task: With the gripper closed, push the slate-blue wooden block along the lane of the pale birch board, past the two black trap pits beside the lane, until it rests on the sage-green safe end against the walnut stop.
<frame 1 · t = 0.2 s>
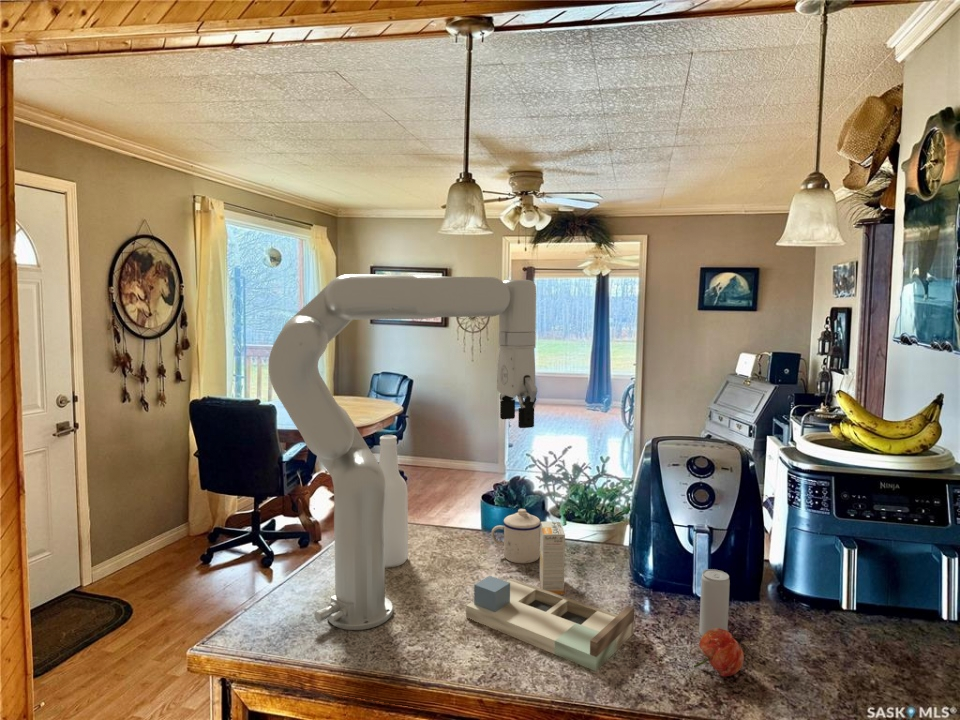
hand: (516, 422, 126), 36 cm above the kitchen counter, tool pointing down, fingers open, 9 cm apart
supplement box: (551, 586, 132), on the kitchen counter
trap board: (547, 625, 116), on the kitchen counter
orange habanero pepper: (718, 672, 102), on the kitchen counter
slate block: (492, 603, 119), point 2 cm above the kitchen counter, touching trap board
beverage can: (712, 638, 112), on the kitchen counter
alcohol: (389, 561, 144), on the kitchen counter
teacup with lid: (515, 556, 147), on the kitchen counter
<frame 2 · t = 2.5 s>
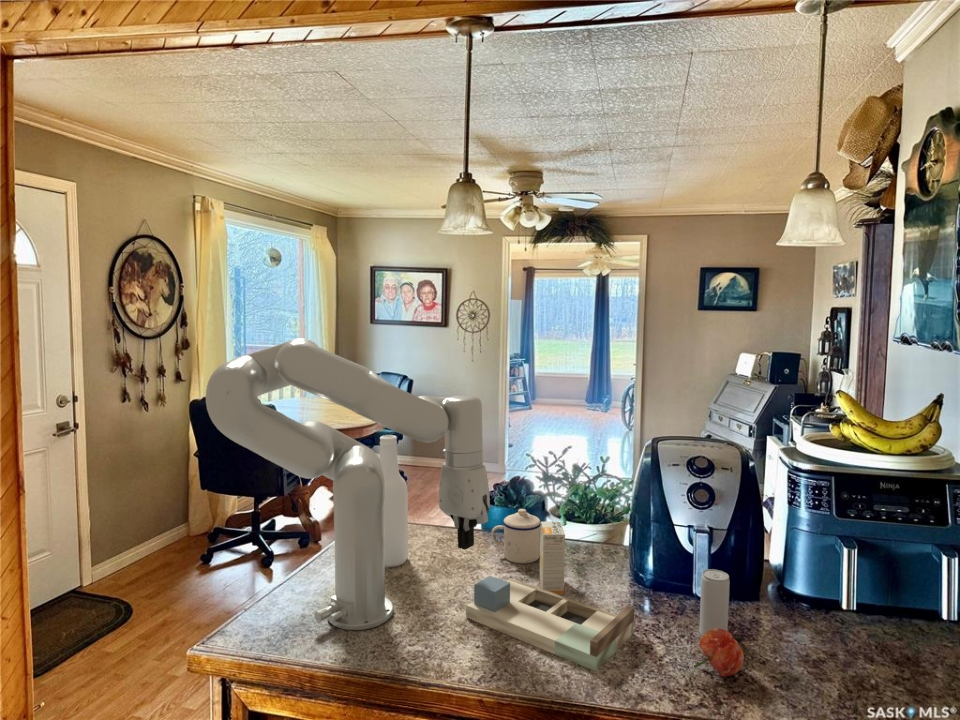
hand: (465, 546, 123), 12 cm above the kitchen counter, tool pointing down, fingers closed
nothing on the kitchen counter moved.
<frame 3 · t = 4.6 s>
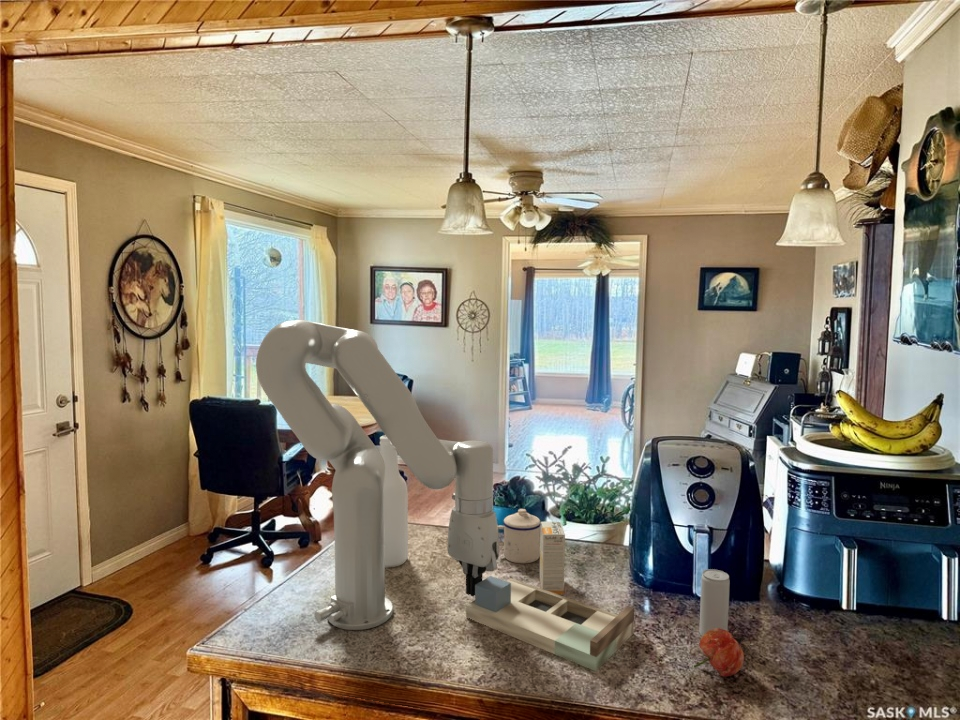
hand: (474, 592, 122), 3 cm above the kitchen counter, tool pointing down, fingers closed
slate block: (492, 603, 119), point 3 cm above the kitchen counter, touching gripper
everything else where it was.
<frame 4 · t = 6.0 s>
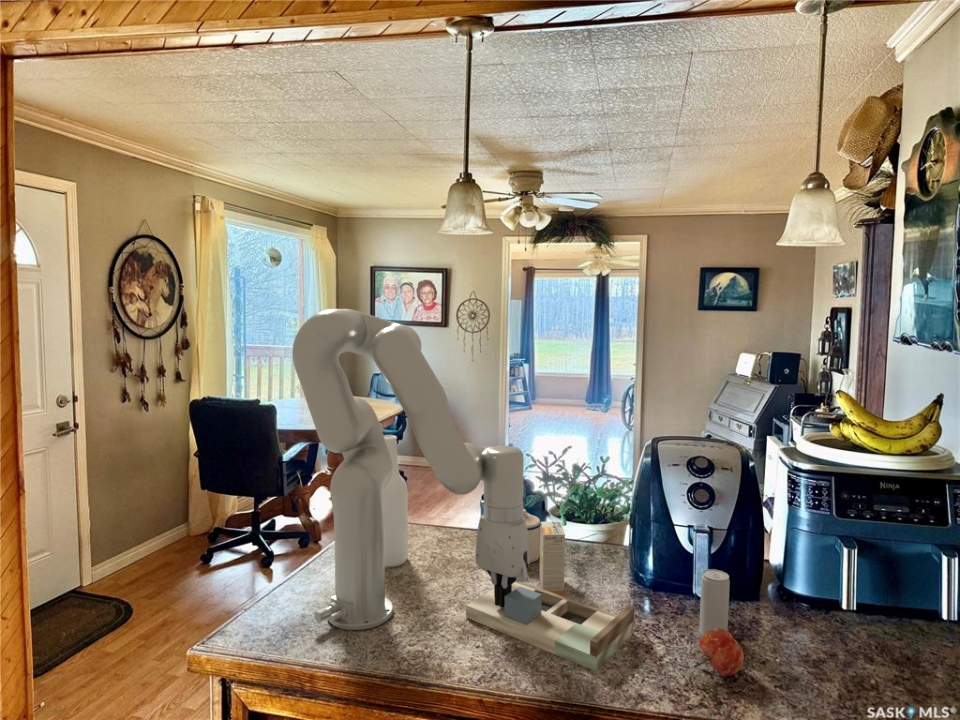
hand: (502, 603, 117), 3 cm above the kitchen counter, tool pointing down, fingers closed
slate block: (523, 615, 114), point 2 cm above the kitchen counter, touching gripper, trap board
everything else where it was.
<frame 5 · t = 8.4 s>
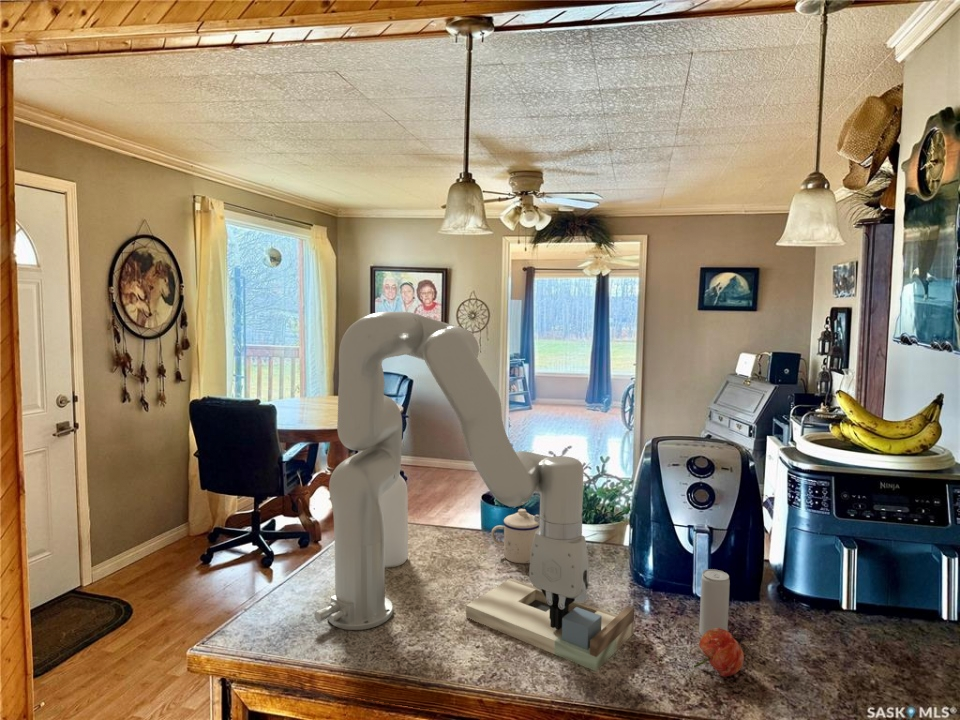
hand: (558, 625, 110), 3 cm above the kitchen counter, tool pointing down, fingers closed
slate block: (581, 638, 107), point 2 cm above the kitchen counter, touching gripper, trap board
everything else where it was.
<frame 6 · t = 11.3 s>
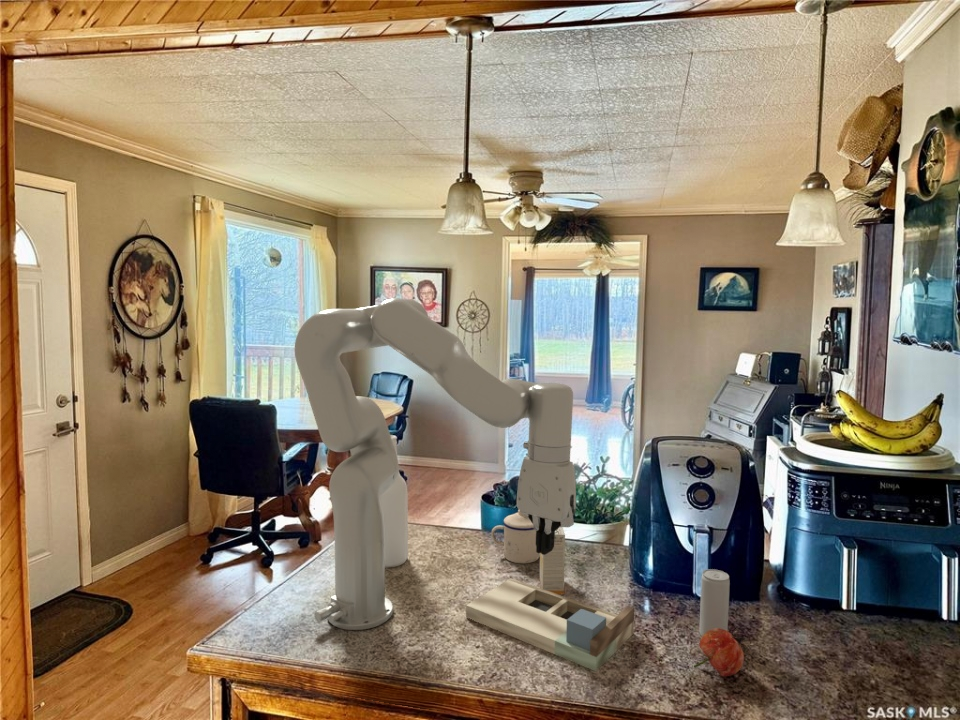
hand: (544, 551, 110), 16 cm above the kitchen counter, tool pointing down, fingers closed
slate block: (586, 640, 106), point 2 cm above the kitchen counter, touching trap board
everything else where it was.
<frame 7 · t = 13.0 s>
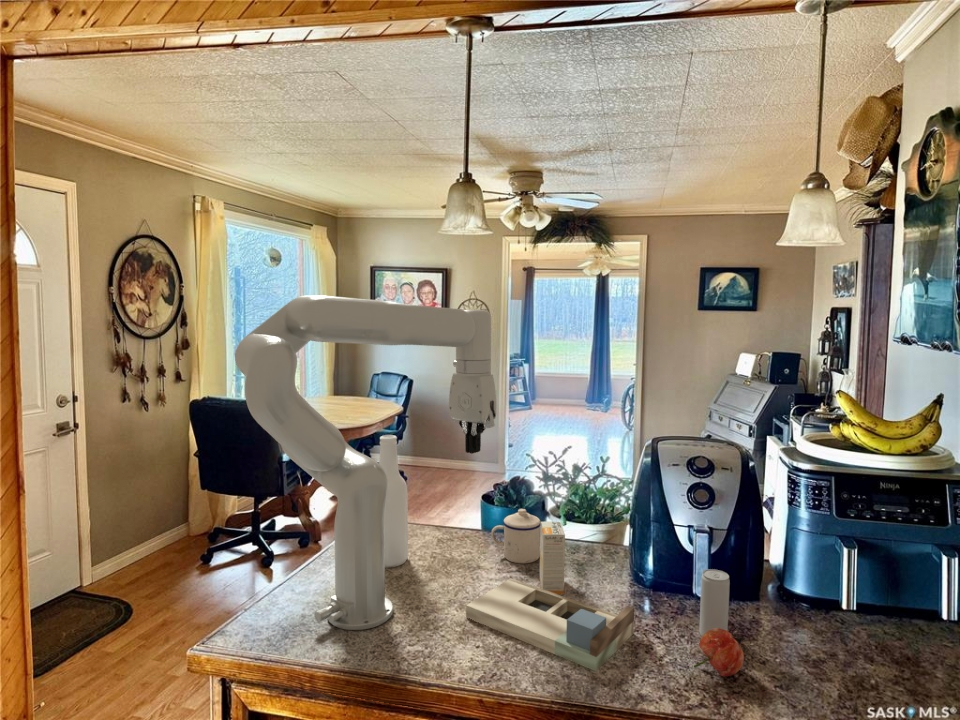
hand: (472, 451, 131), 29 cm above the kitchen counter, tool pointing down, fingers closed
nothing on the kitchen counter moved.
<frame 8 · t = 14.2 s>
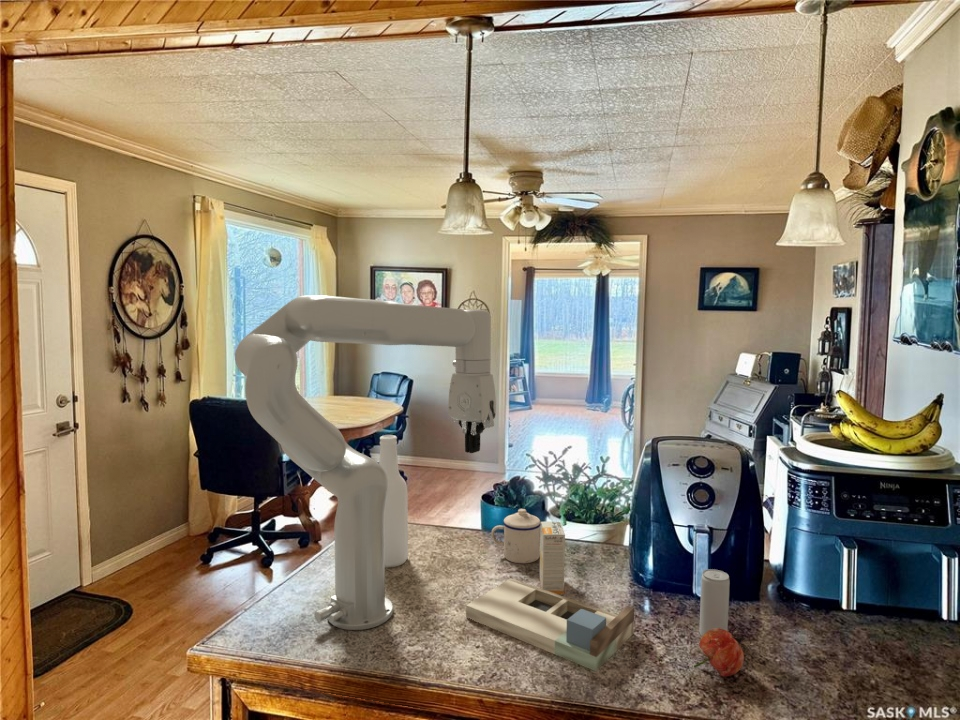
hand: (472, 451, 131), 29 cm above the kitchen counter, tool pointing down, fingers closed
nothing on the kitchen counter moved.
at the end: slate block 0.7 cm from the target spot, point 2.5 cm above the kitchen counter; slate block tilted 0°; slate block moved 20.8 cm from its start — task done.
